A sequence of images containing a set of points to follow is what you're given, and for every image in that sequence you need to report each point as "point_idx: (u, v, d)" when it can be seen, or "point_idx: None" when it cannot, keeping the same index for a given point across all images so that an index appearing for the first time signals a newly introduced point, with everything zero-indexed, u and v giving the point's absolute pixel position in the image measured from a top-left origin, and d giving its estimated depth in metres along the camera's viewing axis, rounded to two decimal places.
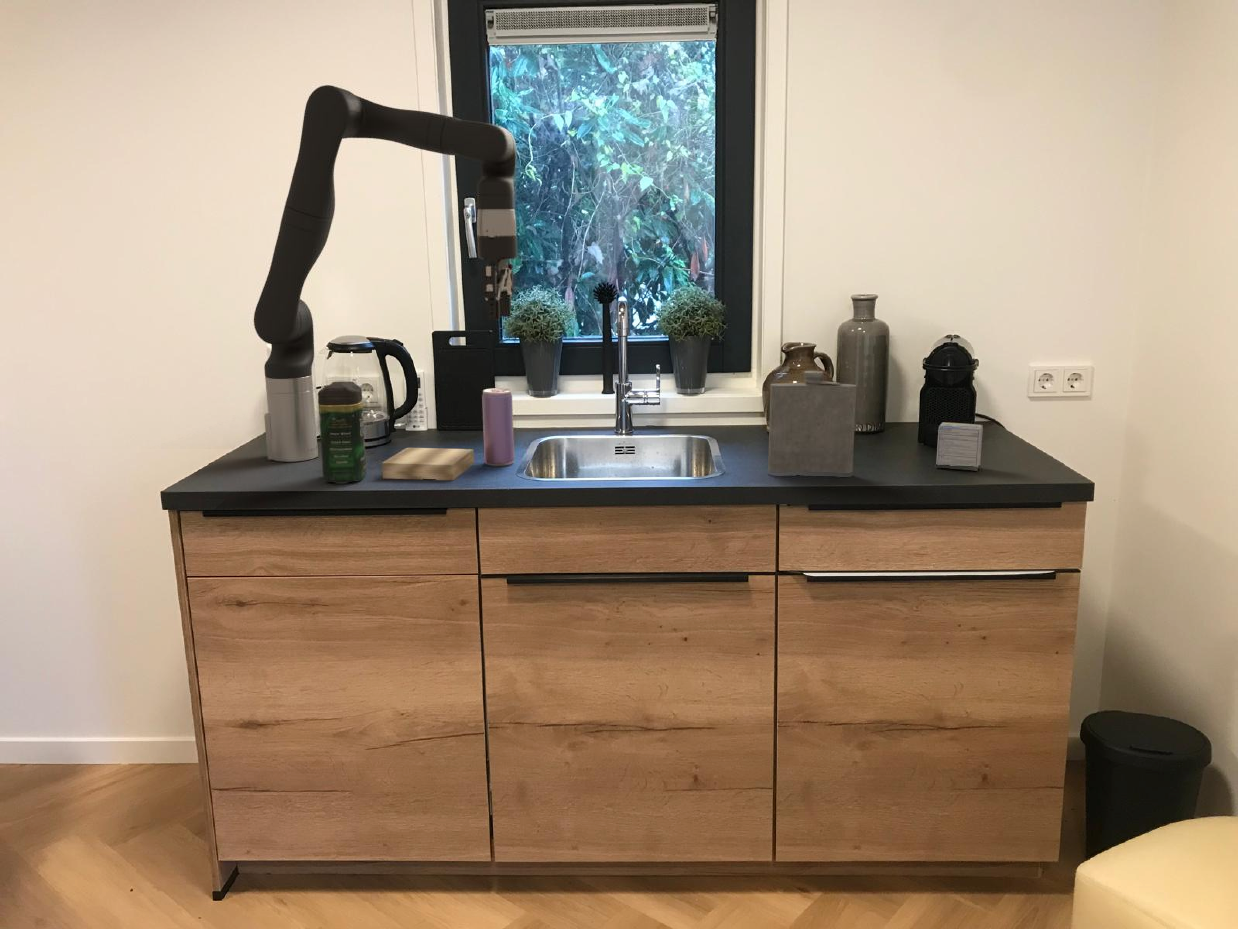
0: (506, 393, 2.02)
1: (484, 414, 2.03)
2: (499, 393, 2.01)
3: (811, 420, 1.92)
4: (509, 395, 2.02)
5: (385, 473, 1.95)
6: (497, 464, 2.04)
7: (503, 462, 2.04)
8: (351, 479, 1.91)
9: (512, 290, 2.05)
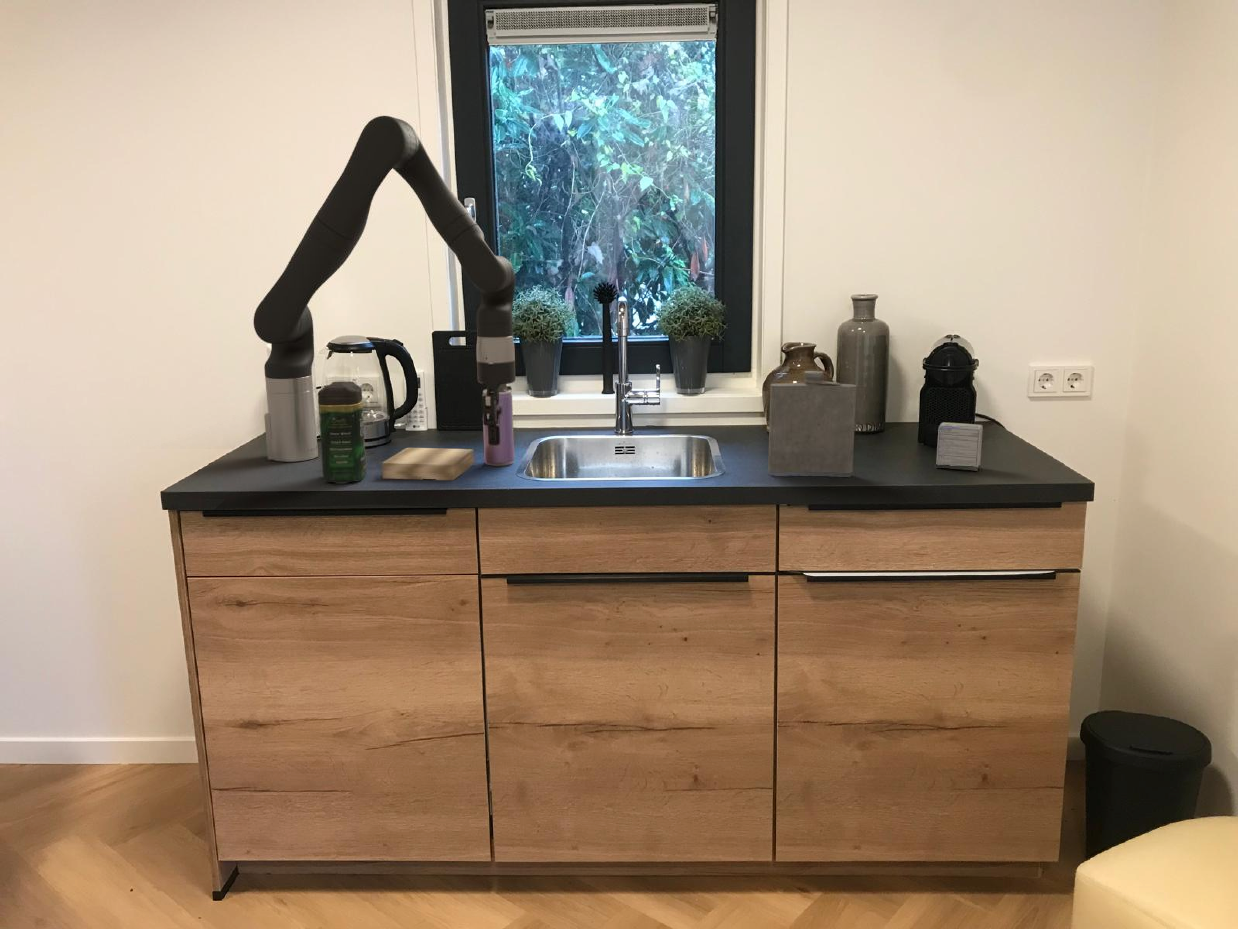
0: (506, 393, 2.02)
1: None
2: (499, 393, 2.01)
3: (811, 420, 1.92)
4: (509, 395, 2.02)
5: (385, 473, 1.95)
6: (497, 464, 2.04)
7: (503, 462, 2.04)
8: (351, 479, 1.91)
9: None
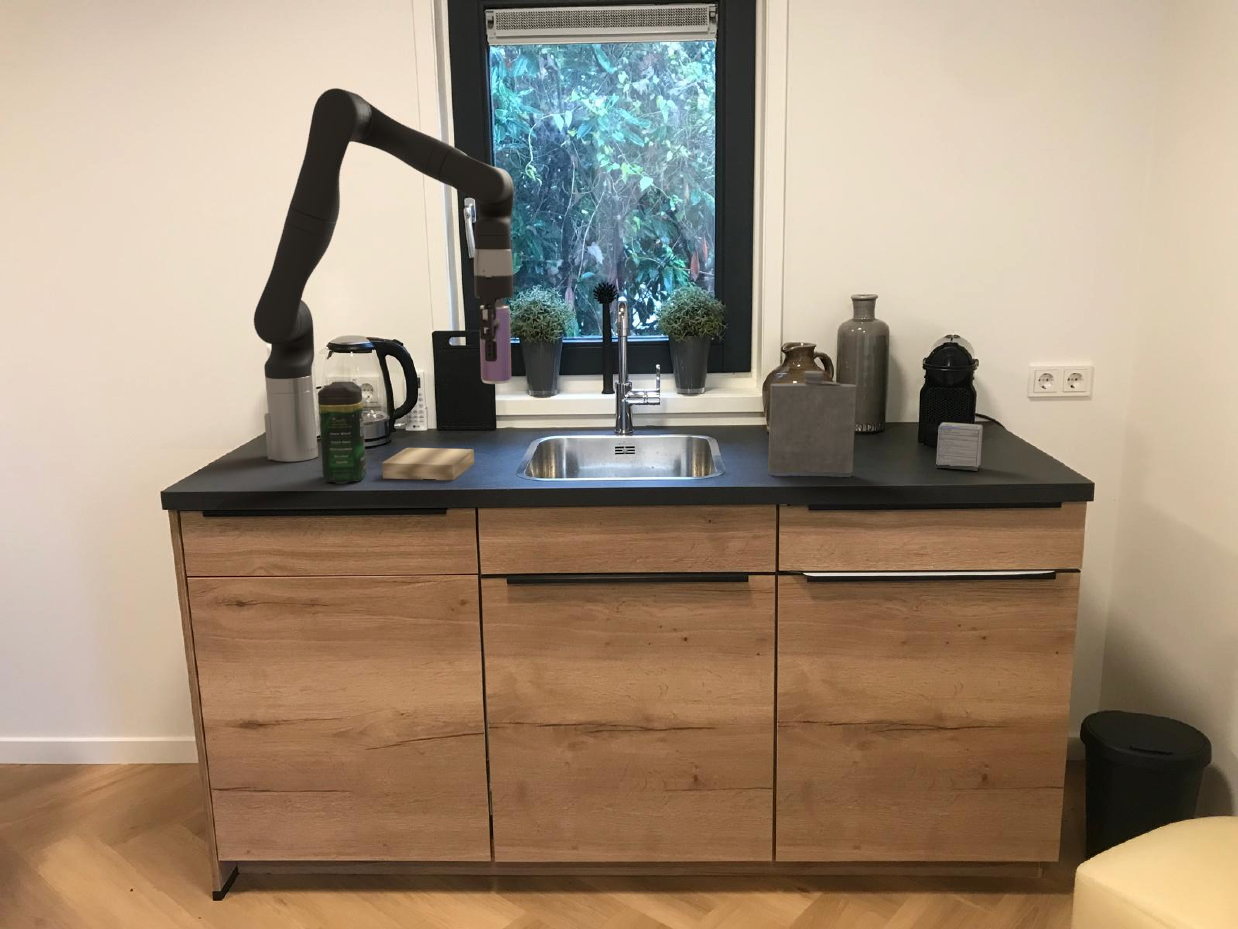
0: (504, 308, 1.98)
1: None
2: (497, 308, 1.97)
3: (811, 420, 1.92)
4: (507, 311, 1.99)
5: (385, 473, 1.95)
6: (494, 381, 2.00)
7: (500, 379, 2.00)
8: (351, 479, 1.91)
9: None
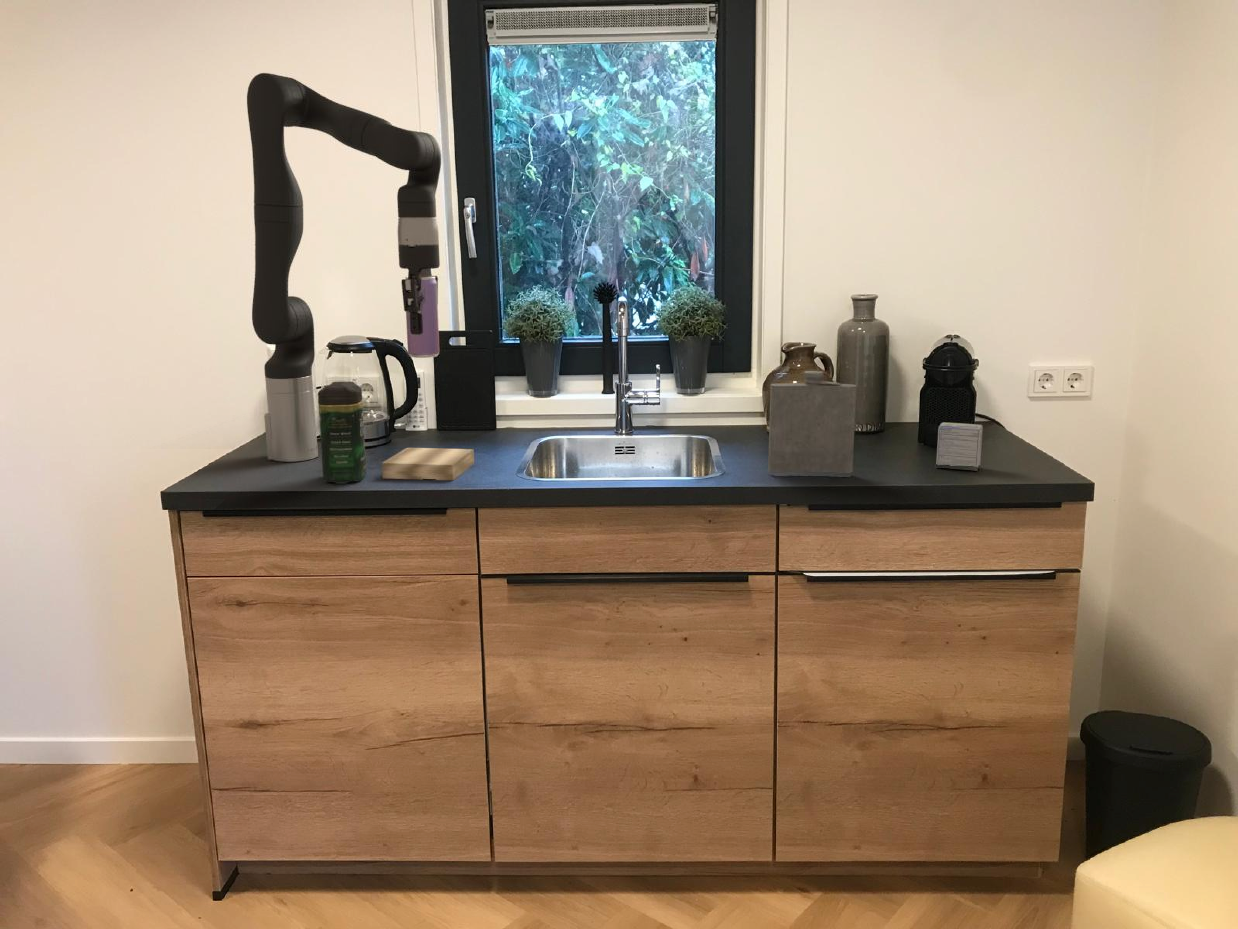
0: (429, 279, 1.91)
1: None
2: (422, 278, 1.90)
3: (811, 420, 1.92)
4: (433, 281, 1.91)
5: (385, 473, 1.95)
6: (420, 355, 1.93)
7: (427, 353, 1.93)
8: (351, 479, 1.91)
9: None
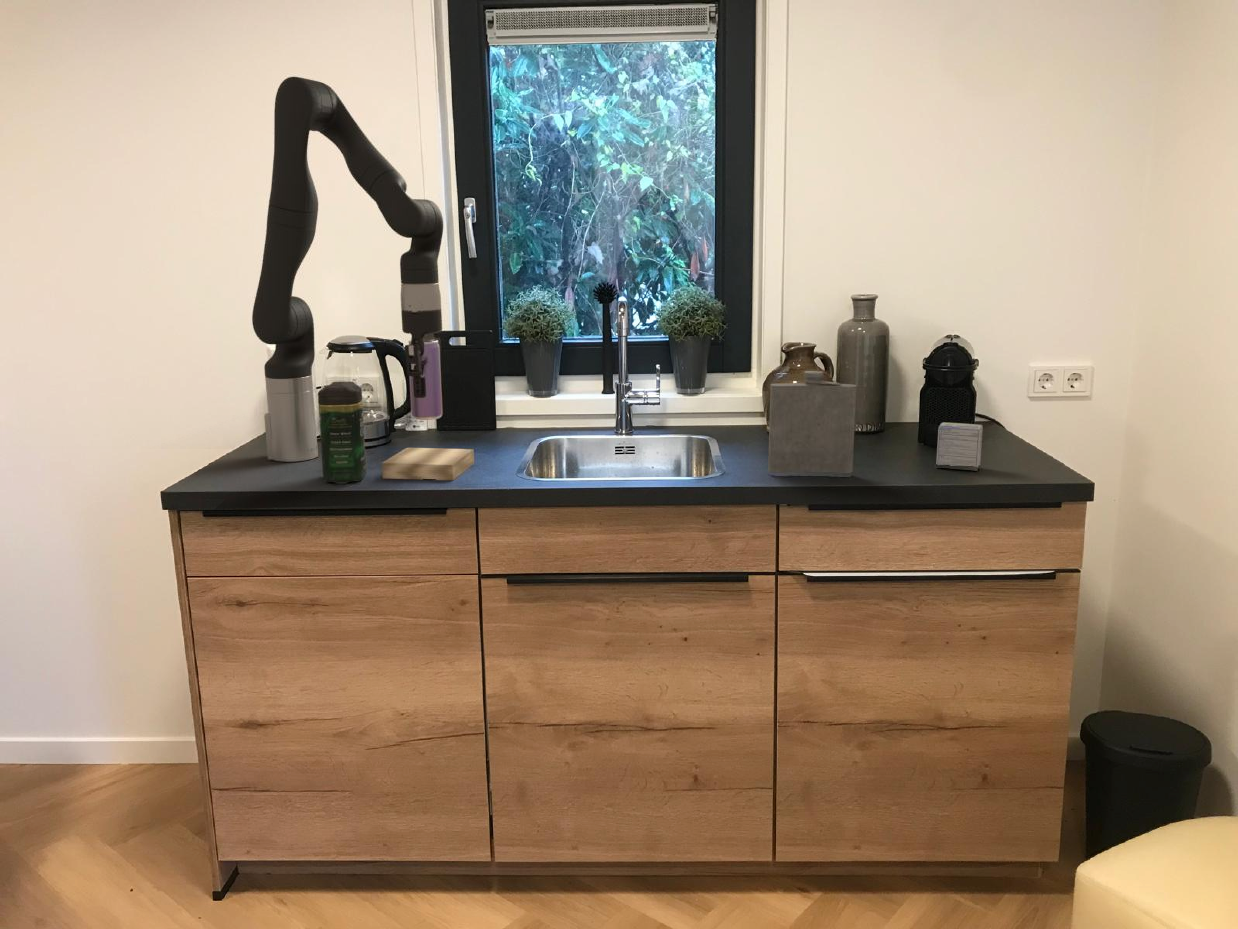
0: (432, 343, 1.93)
1: None
2: (424, 343, 1.92)
3: (811, 420, 1.92)
4: (436, 345, 1.94)
5: (385, 473, 1.95)
6: (424, 418, 1.95)
7: (430, 416, 1.95)
8: (351, 479, 1.91)
9: None
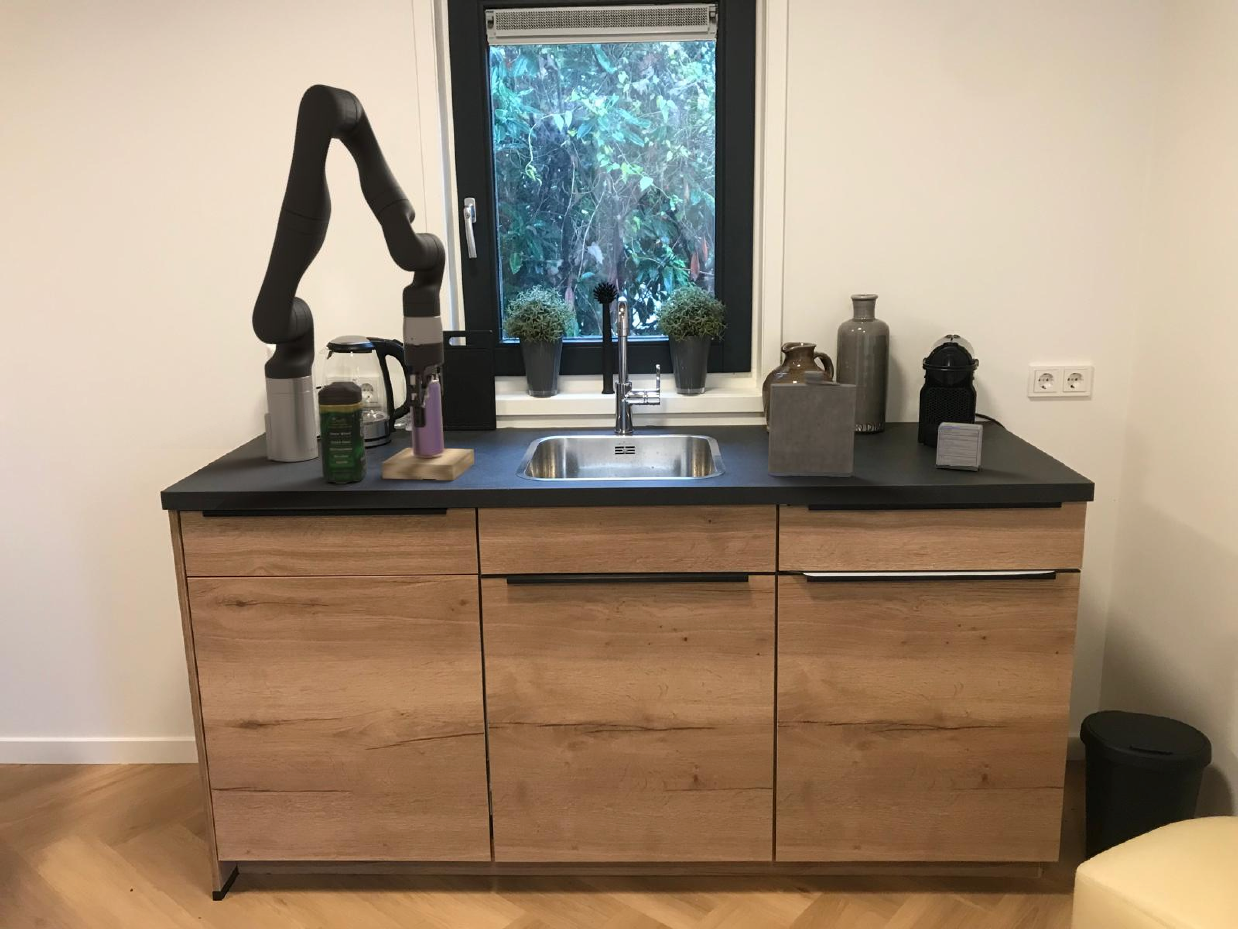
0: (433, 382, 1.95)
1: None
2: None
3: (811, 420, 1.92)
4: (436, 384, 1.96)
5: (385, 473, 1.95)
6: (425, 456, 1.97)
7: (432, 454, 1.97)
8: (351, 479, 1.91)
9: (441, 392, 2.03)
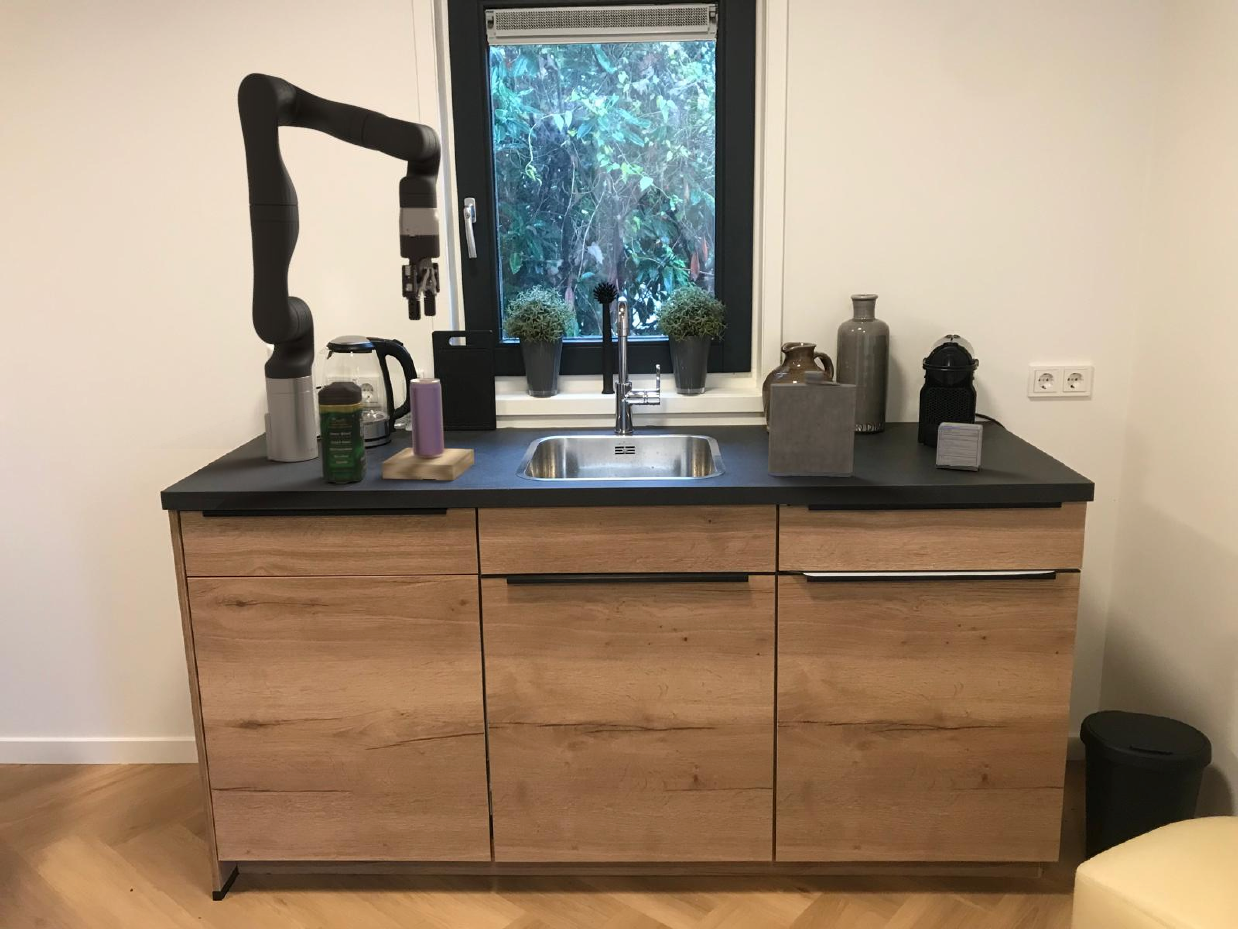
0: (434, 383, 1.95)
1: (411, 405, 1.96)
2: (426, 383, 1.94)
3: (811, 420, 1.92)
4: (437, 385, 1.96)
5: (385, 473, 1.95)
6: (425, 456, 1.97)
7: (432, 454, 1.97)
8: (351, 479, 1.91)
9: (438, 290, 2.03)
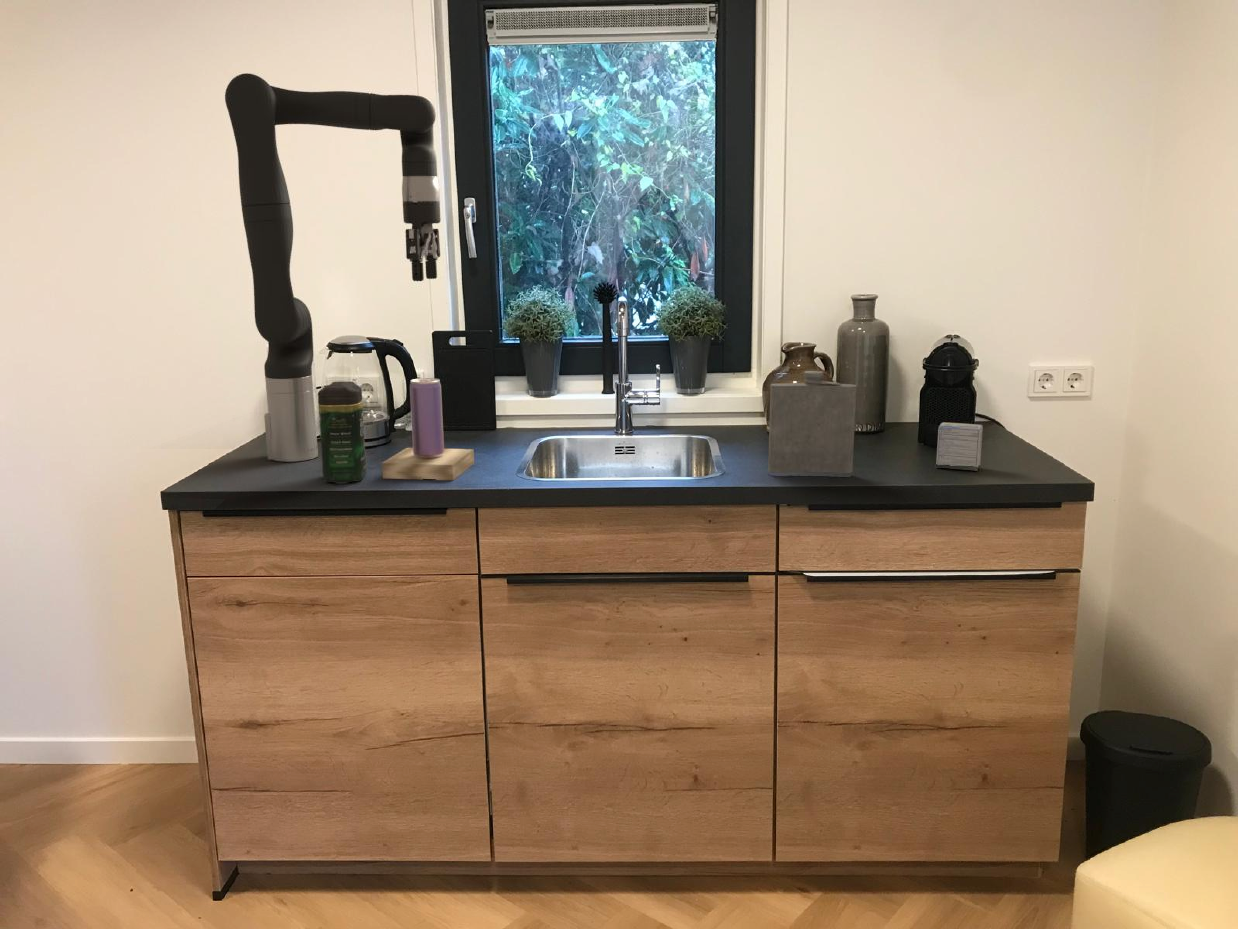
0: (434, 383, 1.95)
1: (412, 405, 1.96)
2: (426, 383, 1.94)
3: (811, 420, 1.92)
4: (437, 385, 1.96)
5: (385, 473, 1.95)
6: (425, 456, 1.97)
7: (432, 454, 1.97)
8: (351, 479, 1.91)
9: (438, 254, 2.17)
